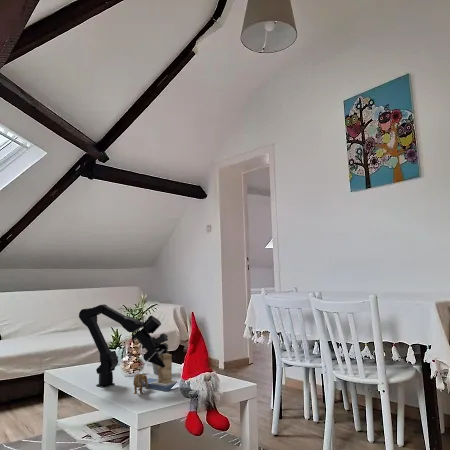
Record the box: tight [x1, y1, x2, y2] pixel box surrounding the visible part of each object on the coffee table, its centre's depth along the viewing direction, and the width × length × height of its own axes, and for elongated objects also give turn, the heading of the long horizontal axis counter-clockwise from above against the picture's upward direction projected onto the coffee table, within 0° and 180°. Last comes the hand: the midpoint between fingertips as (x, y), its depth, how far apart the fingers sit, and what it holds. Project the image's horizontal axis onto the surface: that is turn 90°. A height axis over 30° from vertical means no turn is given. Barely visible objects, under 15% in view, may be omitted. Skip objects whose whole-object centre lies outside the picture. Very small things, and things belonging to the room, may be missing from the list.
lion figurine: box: [133, 373, 149, 395], centre depth 183 cm, size 15×5×9 cm, turn 1°
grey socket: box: [153, 379, 178, 387], centre depth 188 cm, size 8×8×1 cm
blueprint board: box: [143, 377, 176, 392], centre depth 190 cm, size 19×9×2 cm, turn 56°
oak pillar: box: [157, 353, 173, 384], centre depth 189 cm, size 4×4×13 cm
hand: (167, 365), depth 189 cm, fingers open, 9 cm apart
